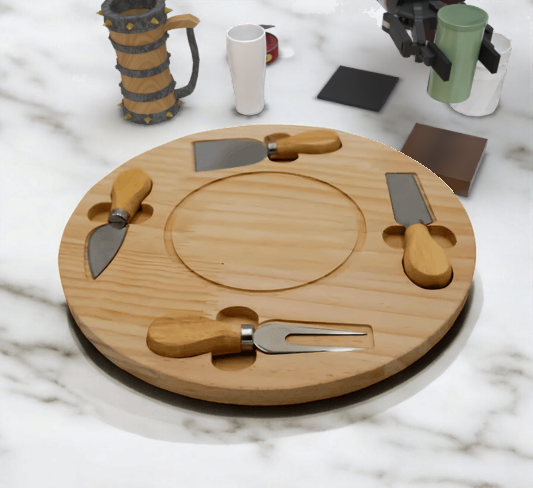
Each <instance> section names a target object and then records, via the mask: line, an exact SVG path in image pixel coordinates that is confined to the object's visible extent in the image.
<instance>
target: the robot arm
mask: <svg viewBox="0 0 533 488" xmlns="http://www.w3.org/2000/svg"><path fill="white" fill-rule="evenodd" d="M376 2H378V3H379V5H380V6H381V8H382V9H384V11H385V12H383V13H382V21H381V30H382V31H383V32H384V33H386V34H388V36H389V37H390V39H391V41H392V42H393V44H394V45H395V47H396V49H397V51H398V52H399V54H400V56H401V57H402V58H404V59H409V58H410V57H411V56H415V57H414V62H415V63H416V64H422V63H423V64H424V65H425V66H426V67H430V66H431V67H432V68H433V69H434V71H435V72H436V73H437V74H438V75H439V77H440V78H441V79H442V80H443V81H444V82H446V81H449V78H450V73H451V67H452V62H451V61H450V60H449V59H448V58H447V57H446V56H445V54H444V53H443V52H442V51H441V50H440V49H439V48H438V47H437V45H436V44H435V43H434V42H433V41H428V42H427V45H426V38H425V32H424V31H427V30H435V31H436V29H437V22H438V21H437V13H438V11H439V10H440V9H441V8H442V7H445V6H447V4H445V3H443V2H441V1H440V0H376ZM458 4H467V3H466V1H464V2H459V3H458ZM494 30H495V28H494V27H493V26H491V25H490V24H489V23H487V25H486V26H485V30H484V35H483V39H482V44H481V49H480V53H479V58H478V60H479V61H480V62H481V63H482V64H483V65H484V67H485V68H486V69H487V70H488V71H489V72H490V73H491V74H495V73H497V70H498V66H499V62H500V58H501V55H500V54H499V53H498V52H497V51H496V50H495V49H494V48H495V47H494V45H493V44H492V43H491V39H492V35H493V31H494ZM408 31H410V34H411V35H410V34H409V33H408Z"/></svg>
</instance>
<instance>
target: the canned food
mask: <svg viewBox="0 0 533 488" xmlns="http://www.w3.org/2000/svg"><path fill="white" fill-rule="evenodd" d="M258 25H259V26H261V27H262V28H264V30H268V29H272V28H276V25H273V24H258ZM265 35H266V67H267V66H269V65H271V64H273V63H275V62H276V61H277V59H278V58H279V55H280V54H279V39H278V37H277V36H276V35H275V34H273V33H271V32H268V31H265Z"/></svg>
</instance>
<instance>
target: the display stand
mask: <svg viewBox="0 0 533 488" xmlns="http://www.w3.org/2000/svg"><path fill="white" fill-rule="evenodd" d="M488 140H489V138H485V137H481V136H476V135H471V134H469V133H468V134H467V133H463V132H459V131H454V130H450V129H446V128H440V127H437V126H432V125H428V124H423V123H419V122H415V124H414V125H413V128H412V129H411V131H410V133H409V135H408V137H407V139H406V140H405V142H404V144H403V146H402V148H401V149H400V151H399V153H400V152H402V153H404V154H405V155H407V156H409V157H411V158H412V159H414V160H416V161H418V162H419V163H421V164H422V165H424V166H425V167H427V168H428V169H430V170H431V171H432V172H433V173H435V174H436V175H437V176H438V177H440V178H441V179H442V180H443V181H444V182H445V183H446V184H447V185H448V186H449V187H450V188H451V189H452V190H453V192H454V193H455V194H454V193H453V194H454V195H458V196H462V197H466V198H468V197H469V194H470V191H471V189H472V186H473V184H474V181H475V178H476V176H477V173H478V170H479V168H480V166H481V163H482V161H483V158H484V157H485V153H486V149H487V145H488Z"/></svg>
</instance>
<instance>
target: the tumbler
mask: <svg viewBox="0 0 533 488" xmlns="http://www.w3.org/2000/svg"><path fill="white" fill-rule="evenodd" d="M437 21H438V22H437V29H436V35H435V41H434V43H435V44H436V45H437V47H438V48H439V49H440V50H441V51H442V52H443V53H444V54H445V56H446V57H447V58H448V59H449V60H450V61H451V62H452V67H451V73H450V78H449V81H446V82H444V81H443V80H442V79H441V78H440V77H439V75H438V74H437V73H436V72H435V71H434V69H433V68H432V67H431V66H429V73H428V78H427V79H428V80H427V86H426V94H427V95H428V97H430V98H431V99H432V100H434V101H437V102H440V103H443V104H449V103H460V102H463V101H465V100H467V99H468V98H469V97H470V95H471V90H472V86H473V81H474V76H475V72H476V67H477V62H478V58H479V53H480V49H481V44H482V39H483V35H484V30H485V26H486V25H487V23H488V22H489V13H488V12H487V11H486V10H485V9H483V8H482V7H479V6H475V5H472V4H467V3H466V4H452V5H447V6H445V7H442V8H441V9H440V10H439V11H438V13H437ZM488 24H489V23H488Z"/></svg>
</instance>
